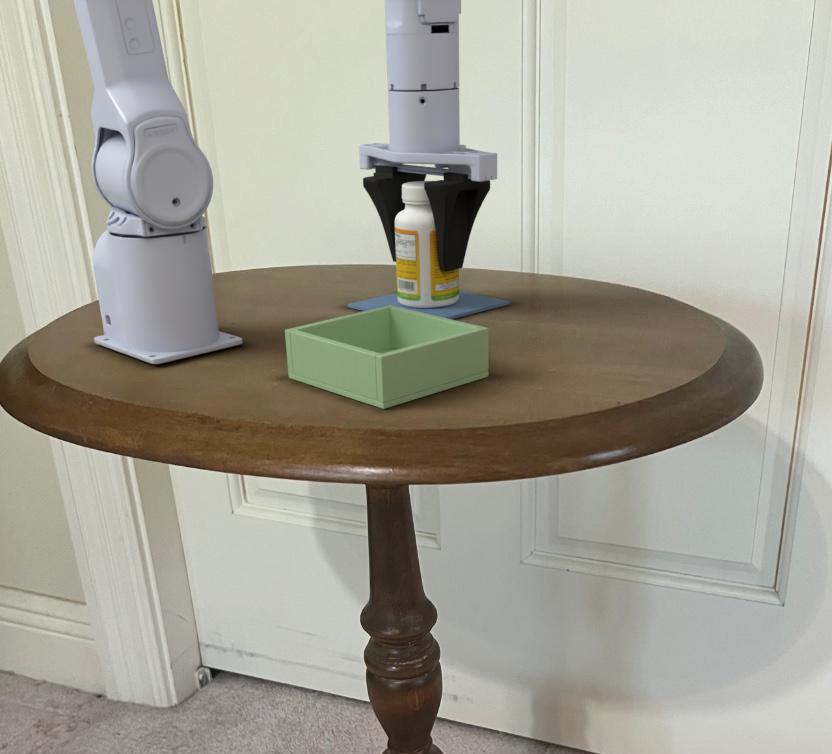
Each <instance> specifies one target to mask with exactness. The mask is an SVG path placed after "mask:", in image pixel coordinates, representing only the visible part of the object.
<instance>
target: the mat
mask: <svg viewBox="0 0 832 754" xmlns="http://www.w3.org/2000/svg"><path fill="white" fill-rule="evenodd" d="M388 305H392V306H396V307H400V308H404V309H409V310H413V311H417V312H421V313H426V314H430V315H434V316H439V317H443V318H447V319H452V320H456V319H458V318H463V317H466V316H470V315H473V314H474V315H475V314H478V313H481V312H485V311H489V310H494V309H497V308H501V307H505V306H509V305H510V300H507V299H501V298H498V297H497V298H496V297H492V296H488V295H487V296H486V295H481V294H477V293H473V292H467V291H463V290H459V299H458V301H457V302H456V303H455V304H453V305H449V306H444V307H437V308H412V307H407V306H404V305H402V304H400V303H399V302H398V298H397V292H394V293H389V294H384V295H379V296H376V297H372V298H367V299H363V300H358V301H354V302H349V303H347V308H349V309H354V310H358V311H360V312H363V311H367V310H371V309H376V308H380V307H384V306H388Z"/></svg>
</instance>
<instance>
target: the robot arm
mask: <svg viewBox="0 0 832 754" xmlns="http://www.w3.org/2000/svg"><path fill="white" fill-rule="evenodd" d="M73 4H74V8H75V9H74V10H75V13H76V17H77V21H78V27H79V29H80V30H79V31H80V34H81V38H82V42H83V46H84V50H85V55H86V59H87V63H88V68H89V71H90V72H89V73H90V76H91V79H92V84H93V97H92V104H91V110H90V119H91V123H92V128H93V134H94V147H93V152H92V156H91V157H92V158H91V163H90V164H91V167H90V168H91V169H90V170H91V177H92V180H93V183H94V187H95V190H96V191H97V193H98V195H99V196H100V198H102V200H103V201H104V202H105V203H106V204H107V205H108V206H109V207H111V209H110V211H109V213H108V216H107V220H106V222H105V223H106V229H105V230H104V232H102V233H101V235H100V236H99V237H98V239H97V240H96V244H95V246H94V249H93V254H92V267H93V273H94V279H95V286H96V292H97V298H98V304H99V310H100V317H101V323H102V328H103V334H102V335H98V336H97V335H96V336H95V337H93V340H94V343H95V344H96V345H99V346H101V347H105V348H106V349H109V350H113V351H115V352H118V353H121V354H124V355H126V356H129V357H132V358H135V359H137V360H140V361H143V362H145V363H148V364H151V365H161V364H165V363H169V362H174V361H178V360H182V359H187V358H191V357H195V356H199V355H203V354H207V353H211V352H215V351H219V350H224V349H228V348H232V347H238V346H240V345H243V338H242V337H240V336H237V335H234V334H230V333H227V332H223V331H220V329H219V320H218V313H217V303H216V295H215V285H214V277H213V268H212V259H211V251H210V250H211V249H210V241H209V233H208V226H207V224H208V223H207V217H206V216H204V214H205V212H206V211H207V209H208V208H209V206H210V203H211V201H212V197H213V193H214V175H213V171H212V170H213V169H212V167H211V164H210V162H209V160H208V158H207V156H206V154H205V153H204V152H203V150H202V149H201V148H200V147H199V145H198V144H197V142H196V140H195V138H194V136H193V133H192V130H191V127H190V122H189V118H188V117H189V116H188V113H187V110H186V109H185V107H184V105H183V103H182V101H181V99H180V98H179V96H178V94H177V92H176V91H175V88H173V86H172V84H171V81H170V79H169V75H168V70H167V66H166V60H165V55H164V49H163V45H162V40H161V35H160V32H159V31H160V30H159V27H158V22H157V17H156V12H155V11H156V10H155V6H154V2H153V0H73ZM461 14H462V0H384V19H385V20H384V21H385V22H384V24H385V25H384V26H385V49H386V53H385V54H386V76H387V78H386V79H387V106H388V108H387V109H388V132H389V133H388V134H389V136H388V137H389V143H381V142H373V143H365V144H359V145H358V154H359V155H358V156H359V169H360V170H367V171H368V170H375V171H374V172H373V175H371V176H365V177H363V178H362V186H363V188H364V190H365V191H366V193H367V194H368V196H369V197H370V199H371V201H372V203H373V205H374V207H375V210H376V211H377V214H378V216H379V219H380V222H381V224H382V228H383V231H384V235H385V237H386V241H387V245H388V248H389V252H390V256H391V259H392V262H394V263H396V248H395V218H396V215H397V214H398V213H399V212H400V211H402V210H404V209H405V203H403V201H402V184H404V183H408V182H416V181H426V177H427V175H429V176H436V177H437V176H439V177H443V179H438V180H430V181H431V182H425V183H424V189H425V191H426V194H427V196H428V199H429V202H430V206H431V209H432V213H433V218H434V223H435V229H436V242H437V256H438V263H439V267H440V271H451V270H455V269H459V270H460V269H463V267H464V262H465V259H466V253H467V249H468V246H469V241H470V237H471V233H472V230H473V227H474V224H475V221H476V218H477V216H478V214H479V211H480V209H481V207H482V205H483V203H484V201H485V199H486V198H487V196H488V194H489V192H490V190H491V181H493V180H497V179H498V153H497V152H491V151H488V152H487V151H483V150H478V149H474V148H468V147H467V145H466V144H461V142H460V141H461V139H460V138H461V134H460V133H461V132H460V121H461V120H460V117H461V116H460V15H461ZM422 165H434V167H433V166H422Z"/></svg>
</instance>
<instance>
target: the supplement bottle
mask: <svg viewBox="0 0 832 754" xmlns="http://www.w3.org/2000/svg"><path fill="white" fill-rule="evenodd" d="M431 181H432V180H425V181H416V182H408V183H404V184H402V201H403V203H405V209H404V210H402V211H400V212H399V213H398V214H397V215H396V218H395V248H396V262H395V271H396V274H395V275H396V276H395V277H396V293H397V298H398V302H399V303H400V304H402V305H404V306H407V307H412V308H437V307H444V306H449V305H453V304H455V303H456V302H457V301H458V299H459V291H460V269H455V270H451V271H440V267H439V263H438V256H437V242H436V229H435V223H434V218H433V213H432V209H431V206H430V202H429V199H428V196H427V194H426V191H425V189H424V183H425V182H431Z"/></svg>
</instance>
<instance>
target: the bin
mask: <svg viewBox="0 0 832 754" xmlns="http://www.w3.org/2000/svg"><path fill="white" fill-rule="evenodd" d="M489 334H490V329H489V327H486V326H482V325H478V324H473V323H469V322H465V321H461V320H457V319H447V318H443V317H439V316H434V315H430V314H426V313H421V312H417V311H413V310H409V309H404V308H400V307H396V306H392V305H388V306H384V307H380V308H376V309H371V310H367V311H359V312H354V313H351V314H346V315H342V316H338V317H332V318H329V319H326V320H320V321H316V322H313V323H309V324H304V325H300V326H295V327H291V328H287V329H284V336H285V337H284V339H285V351H286V361H287V362H286V363H287V373H288V378H289V379H291V380H293V381H296V382H300V383H303V384H306V385H309V386H312V387H316V388H319V389H322V390H323V391H324V390H325V391H328V392H330V393H333V394H336V395H340V396H343V397H346V398H349V399H351V400H355V401H358V402H361V403H364V404H367V405H370V406H374V407H376V408H379V409H383V410H385V409H388V408H392V407H395V406H398V405H401V404H404V403H409V402H410V401H414V400H417V399H420V398H424V397H427V396H430V395H434V394H437V393H440V392H444V391H446V390H450V389H453V388H456V387H459V386H462V385H465V384H470V383H472V382H476V381H479V380H482V379H485V378H488V377H489V376H490V375H489V373H490V372H489V369H490V367H489V365H490V363H489V360H490V359H489V356H490V355H489V354H490V353H489V352H490V351H489V350H490V346H489V345H490V343H489V342H490V340H489V338H490V337H489V336H490V335H489Z"/></svg>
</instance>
